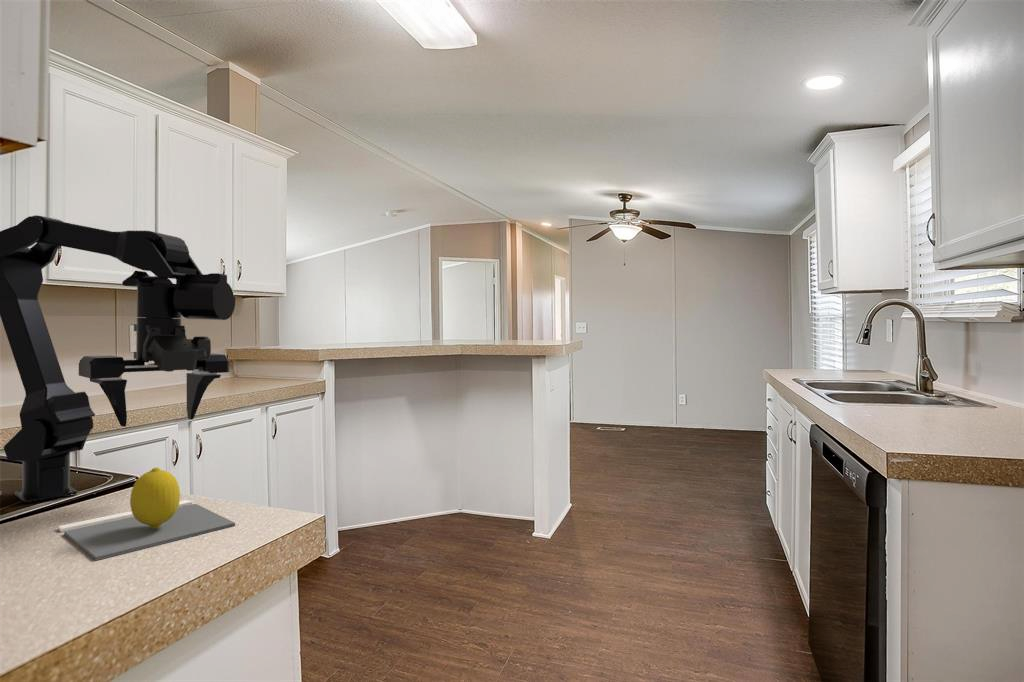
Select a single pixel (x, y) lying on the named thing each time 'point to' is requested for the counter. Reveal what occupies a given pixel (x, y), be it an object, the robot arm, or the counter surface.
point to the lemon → (155, 497)
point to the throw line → (106, 519)
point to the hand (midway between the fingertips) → (158, 422)
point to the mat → (145, 532)
